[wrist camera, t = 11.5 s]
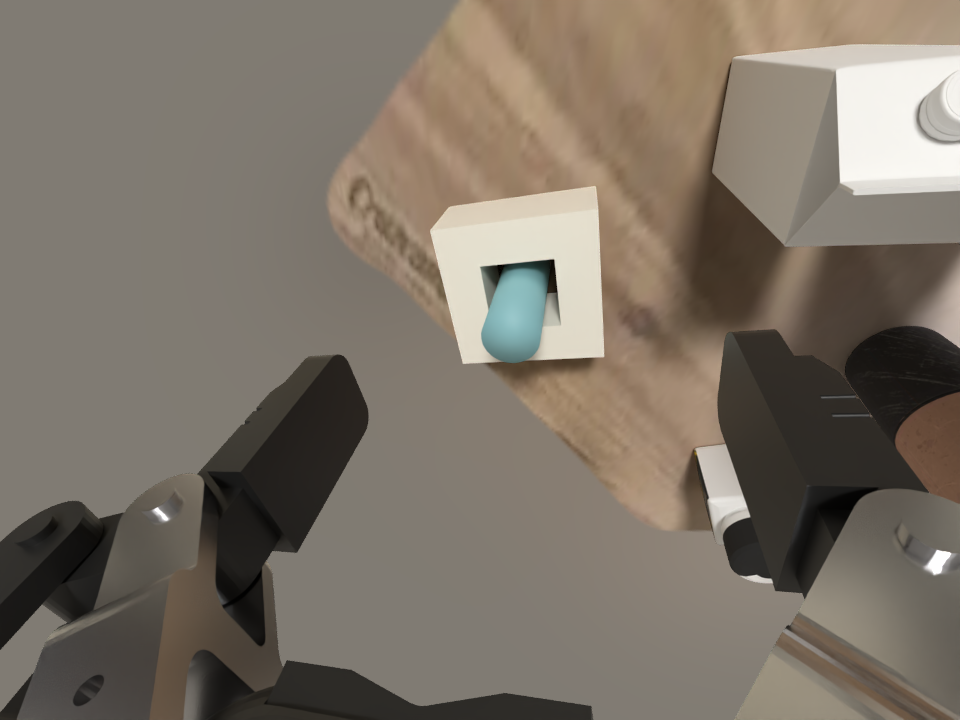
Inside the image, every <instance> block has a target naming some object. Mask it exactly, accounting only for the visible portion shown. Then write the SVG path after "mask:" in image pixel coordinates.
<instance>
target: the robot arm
mask: <svg viewBox="0 0 960 720" xmlns="http://www.w3.org/2000/svg"><path fill="white" fill-rule="evenodd" d="M958 244H959V245H960V243H958ZM855 395H856V394H855V393H854V392H853V390H852V389H851V388H850V386H849V385H848V384H847V382H846V381H845V380H844V378H843V377H842V376H841V374H840V373H839V372H837V371H836V370H834V369H833V368H831V367H829V366H828V365H826V364H825V363H823V362H821V361H820V360H818V359H817V358H815V357H814V356H812V355H811V356H794V355H793V354H792V352H791V351H790V349H789V348H788V346H787V344H786V343H785V341H784V340H783V338H782V337H781V335H780V334H779V332H778V331H777V330H757V331H740V332H729V333H727V335H726V338H725V342H724V349H723V358H722V366H721V374H720V383H719V391H718V418H719V424H720V428H721V432H722V434H723V437H724V440H725V443H726V446H727V449H728V452H729V455H730V458H731V461H732V464H733V467H734V470H735V473H736V476H737V479H738V482H739V485H740V488H741V491H742V493H743V496H744V499H745V502H746V505H747V508H748V511H749V514H750V517H751V520H752V523H753V526H754V529H755V532H756V535H757V538H758V541H759V544H760V547H761V549H762V552H763V555H764V558H765V561H766V564H767V567H768V570H769V573H770V576H771V579H772V582H773V585H774V588H775V591H782V592H783V591H784V592H796V593H803V596H804V599H805V600H804V602H803V604H802V606H801V607H800V609H799V611H798V613H797V615H796V617H795V619H794V620H793V622H792V624H791V625H790V626H789V625H788V626H787V627H786V628H785V629H784V631H783V632H782V634H781V635H780V637H779V639H778V640H777V642H776V644H775V646H774V647H773V649H772V651H771V653H770V655H769V657H768V658H767V660H766V662H765V664H764V666H763V668H762V669H761V671H760V674H759V675H758V677H757V679H756V681H755V682H754V684H753V686H752V688H751V690H750V692H749V693H748V695H747V697H746V699H745V701H744V703H743V705H742V706H741V708H740V710H739V712H738V714H737V716H736V717H735V719H734V720H960V504H958V503H955V502H953V501H951V500H948V499H946V498H943V497H940V496H937V495H934V494H930V493H929V491H928V490H927V489H926V487H925V486H924V485H923V483H922V482H921V481H920V479H919V478H918V477H917V475H916V474H915V473H914V471H913V470H912V469H911V467H910V466H909V465H908V463H907V462H906V461H905V459H904V458H903V457H902V455H901V454H900V453H899V451H898V450H897V449H896V447H895V446H894V445H893V444H892V442H891V441H890V440H889V438H888V437H887V436H886V434H885V433H884V432H883V430H882V429H881V428H880V426H879V425H878V424H877V422H876V421H875V420H874V418H870V416H869V412H868V410H867V409H866V408H865V406H864V405H863V404H862V402H861V401H860V400H859V399H856V397H855ZM367 425H368V408H367V405H366V402H365V400H364V398H363V395H362V393H361V391H360V388H359V386H358V384H357V381H356V379H355V377H354V375H353V372H352V370H351V367H350V365H349V363H348V361H347V360H346V358H345V357H344V356H342V355H323V356H310V357H308V358H306V359H305V360H304V361H303V362H302V363H301V365H300V366H299V367H298V368H297V369H296V370H295V371H294V373H293V374H292V375H291V376H290V377H289V378H288V379H287V380H286V382H284V383H283V384H282V385H280V386H279V387H277V388H276V389H274V390H273V391H272V392H270V394H269V395H268V396H267V397H266V398H265V399H264V400H263V401H262V402H261V404H260V405H259V406H258V407H257V411H254V412H252V414H251V415H250V416H249V417H248V418H247V419H246V420H245V424H244V425H241V426H240V427H239V428H238V429H237V430H236V432H235V433H234V434H233V435H232V436H231V437H230V438H229V439H228V441H227V442H226V443H225V444H224V445H223V446H222V447H221V448H220V449H219V450H218V452H217V453H216V454H215V455H214V456H213V457H212V458H211V459H210V461H209V462H208V463H207V464H206V465H205V466H204V467H203V468H202V469H201V471H200V472H199V473H198V474H193V473H191V474H190V473H188V474H187V473H186V474H180V475H177V476H173V477H171V478H168V479H166V480H164V481H162V482H160V483H158V484H156V485H154V486H153V487H151V488H150V489H148V490H147V491H145V492H144V493H143V494H141V495H140V496H139V497H138V498H137V499H136V500H134V502H133V503H132V504H131V505H130V506H129V507H128V508H127V509H126V511H125V512H124V513H120V514H116V515H112V516H108V517H104V518H100V519H98V518H97V517H96V516H95V515H94V514H93V513H92V512H91V511H90V510H89V509H88V508H87V507H86V506H85V505H84V504H83V503H82V502H79V501H68V502H64V503H61V504H57V505H55V506H52V507H50V508H48V509H46V510H44V511H42V512H40V513H38V514H36V515H35V516H33V517H32V518H30V519H28V520H27V521H25V522H24V523H22V524H21V525H20V526H18V527H17V528H16V529H15V530H13V531H12V532H11V533H10V534H9V535H8V536H6V537H5V538H4V539H3V540H2V541H1V542H0V650H1V648H2V647H3V646H4V645H5V644H6V643H7V642H8V641H9V639H11V638H12V636H13V635H14V634H15V633H16V632H17V631H18V630H19V629H20V628H21V626H23V624H24V623H25V622H26V621H27V620H28V619H29V618H30V617H31V616H32V615H33V614H34V612H35V611H36V610H37V609H38V608H39V607H40V606H41V605H42V604H43V605H44V606H45V607H47V608H48V609H49V610H51V611H52V612H53V613H55V614H56V615H58V616H59V617H61V618H62V619H63V620H64V621H66V622H67V623H66V624H64V625H62V626H60V627H59V628H57V629H56V630H54V632H52V634H51V635H50V636H49V638H48V639H47V640H46V642H45V644H44V647H43V649H42V652H41V654H40V657H39V660H38V663H37V665H36V668H35V671H34V673H33V674H32V675H31V676H30V677H29V679H28V680H27V681H26V682H25V684H24V685H23V686H22V687H21V688H20V689H19V691H18V692H17V693H16V694H15V696H14V697H13V698H12V699H11V700H10V702H9V703H8V704H7V705H6V706H5V708H4V709H3V710H2V711H1V712H0V720H593V714H592V709H591V708H592V707H591V706H586V705H581V704H574V703H567V702H561V701H554V700H547V699H541V698H533V697H527V696H521V695H514V694H507V693H503V694H497V695H491V696H485V697H479V698H473V699H466V700H460V701H454V702H447V703H441V704H435V705H429V706H417V705H414V704H411V703H409V702H408V701H406V700H404V699H402V698H400V697H399V696H397V695H395V694H393V693H391V692H390V691H388V690H386V689H384V688H383V687H380V686H379V685H377V684H375V683H374V682H372V681H370V680H368V679H366V678H365V677H363V676H361V675H359V674H358V673H356V672H354V671H352V670H347V669H340V668H334V667H328V666H321V665H314V664H308V663H301V662H294V661H288V660H287V661H286V664H285V666H284V667H283V666H282V664H281V661H280V656H279V650H278V638H277V626H276V613H275V600H274V588H273V575H272V569H271V567H270V565H269V564H268V562H267V561H266V560H267V559H268V557H269V556H270V553H271V552H272V551H281V552H295V553H296V552H298V550H299V548H300V546H301V545H302V543H303V541H304V539H305V538H306V536H307V534H308V532H309V530H310V529H311V527H312V525H313V523H314V522H315V520H316V518H317V516H318V515H319V513H320V511H321V509H322V508H323V506H324V504H325V502H326V500H327V499H328V497H329V495H330V493H331V491H332V490H333V488H334V486H335V484H336V482H337V481H338V479H339V477H340V476H341V474H342V472H343V470H344V469H345V467H346V465H347V463H348V461H349V460H350V458H351V456H352V454H353V453H354V451H355V449H356V447H357V445H358V444H359V442H360V440H361V438H362V436H363V435H364V433H365V431H366V429H367Z"/></svg>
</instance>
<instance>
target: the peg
mask: <svg viewBox="0 0 960 720" xmlns="http://www.w3.org/2000/svg"><path fill="white" fill-rule="evenodd" d="M549 275H550V260H539V261H530V262H520V263H511V264H505V265H504V267H503V270H502V273H501V276H500V279H499V282H498V285H497V288H496V291H495V293H494V296H493V299H492V302H491V305H490V308H489V311H488V314H487V316H486V319H485V322H484V325H483V328H482V332H481V340H482V344H483V346H484V348H485V349H486V351H487V352H488V353H489V354H490V355H491V356H493V357H494V358H496V359H498V360H500V361H503V362H508V363H518V362H523V361H525V360H527V359H529V358H531V357H532V356H533V355H534V354H535V353H536V352H537V350H538V348H539V345H540V340H541V333H542V326H543V319H544V311H545V304H546V297H547V290H548V282H549Z"/></svg>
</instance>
